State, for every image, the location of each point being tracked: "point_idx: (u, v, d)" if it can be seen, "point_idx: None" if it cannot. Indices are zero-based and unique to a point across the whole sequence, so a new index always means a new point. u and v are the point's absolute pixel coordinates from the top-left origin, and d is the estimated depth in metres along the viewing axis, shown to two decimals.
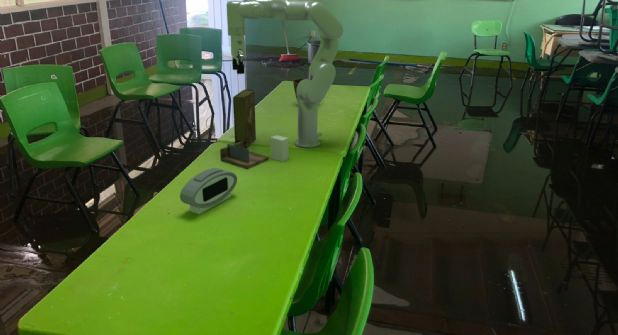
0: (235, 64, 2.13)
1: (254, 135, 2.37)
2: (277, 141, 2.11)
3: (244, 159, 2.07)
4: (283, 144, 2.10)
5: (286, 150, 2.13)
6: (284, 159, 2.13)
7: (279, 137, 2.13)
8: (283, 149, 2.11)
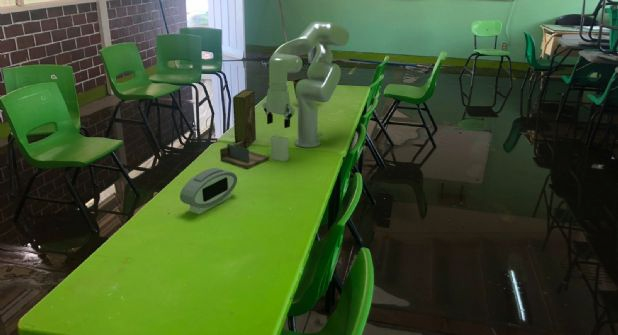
0: None
1: (254, 135, 2.37)
2: (277, 141, 2.11)
3: (244, 159, 2.07)
4: (283, 144, 2.10)
5: (286, 150, 2.13)
6: (284, 159, 2.13)
7: (279, 137, 2.13)
8: (283, 149, 2.11)
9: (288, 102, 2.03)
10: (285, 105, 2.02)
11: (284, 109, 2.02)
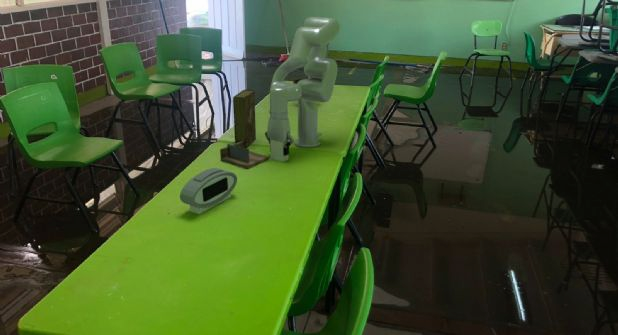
0: None
1: (254, 135, 2.37)
2: (277, 141, 2.11)
3: (244, 159, 2.07)
4: (283, 144, 2.10)
5: None
6: (284, 159, 2.13)
7: None
8: None
9: (288, 130, 2.08)
10: (286, 133, 2.07)
11: (285, 137, 2.07)
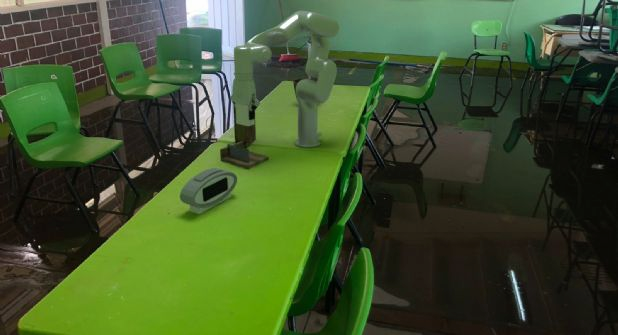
0: None
1: (254, 135, 2.37)
2: (242, 105, 2.01)
3: (244, 159, 2.07)
4: (248, 107, 2.00)
5: None
6: (250, 124, 2.04)
7: None
8: (248, 113, 2.01)
9: (254, 92, 1.99)
10: (251, 95, 1.98)
11: (250, 99, 1.98)
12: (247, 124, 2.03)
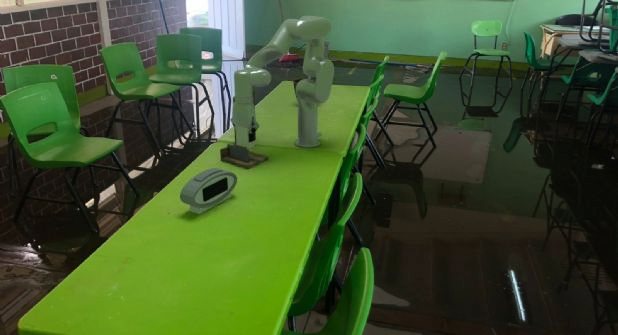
0: None
1: None
2: (242, 127, 2.05)
3: (244, 159, 2.07)
4: (248, 130, 2.04)
5: None
6: (249, 145, 2.07)
7: None
8: (248, 135, 2.05)
9: (254, 115, 2.03)
10: (250, 118, 2.01)
11: (249, 122, 2.01)
12: (247, 146, 2.07)
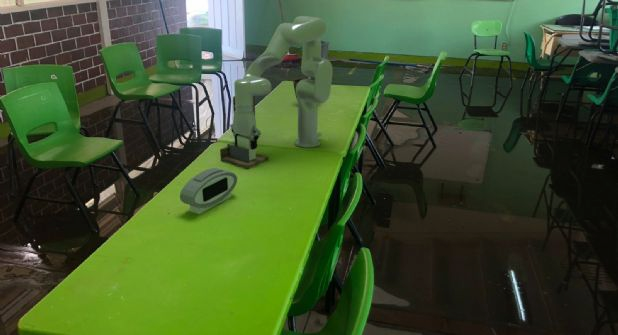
0: None
1: None
2: (243, 140, 2.07)
3: (244, 159, 2.07)
4: (249, 143, 2.06)
5: (253, 149, 2.09)
6: (251, 158, 2.09)
7: None
8: (249, 148, 2.07)
9: (254, 124, 2.04)
10: (251, 127, 2.03)
11: (250, 131, 2.03)
12: None
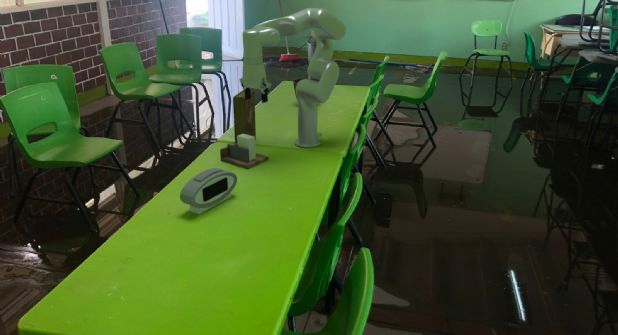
0: None
1: (254, 135, 2.37)
2: (243, 140, 2.07)
3: (244, 159, 2.07)
4: (249, 143, 2.06)
5: (253, 149, 2.09)
6: (251, 158, 2.09)
7: (246, 135, 2.09)
8: (249, 148, 2.07)
9: (264, 76, 1.98)
10: (261, 79, 1.97)
11: (260, 83, 1.97)
12: None
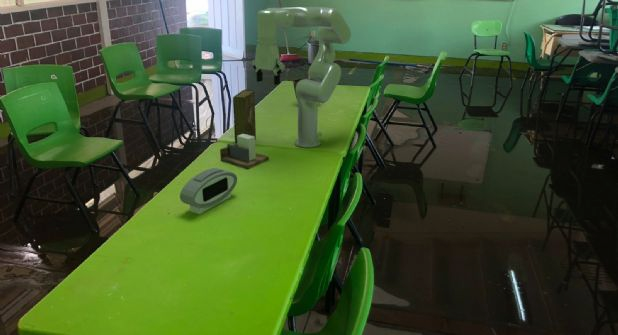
0: None
1: (254, 135, 2.37)
2: (243, 140, 2.07)
3: (244, 159, 2.07)
4: (249, 143, 2.06)
5: (253, 149, 2.09)
6: (251, 158, 2.09)
7: (246, 135, 2.09)
8: (249, 148, 2.07)
9: (278, 58, 1.97)
10: (274, 60, 1.96)
11: (273, 65, 1.96)
12: None
